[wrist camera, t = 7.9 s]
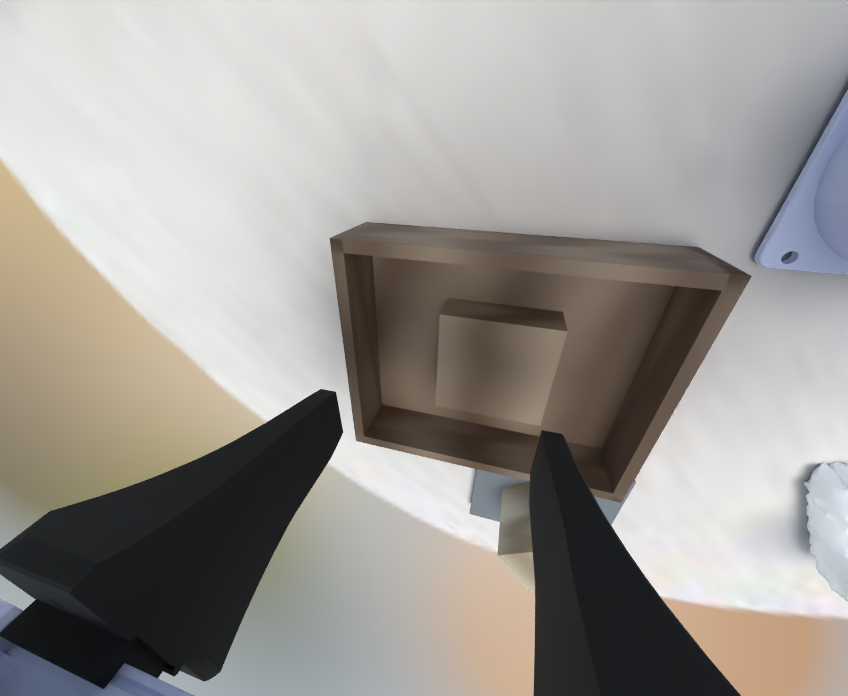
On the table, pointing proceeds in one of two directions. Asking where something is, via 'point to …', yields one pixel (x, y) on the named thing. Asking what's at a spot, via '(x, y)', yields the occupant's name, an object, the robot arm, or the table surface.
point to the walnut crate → (523, 343)
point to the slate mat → (491, 484)
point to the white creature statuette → (829, 523)
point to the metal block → (517, 533)
